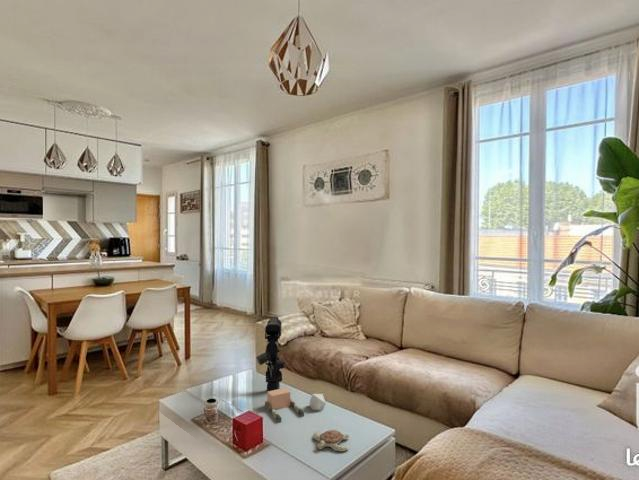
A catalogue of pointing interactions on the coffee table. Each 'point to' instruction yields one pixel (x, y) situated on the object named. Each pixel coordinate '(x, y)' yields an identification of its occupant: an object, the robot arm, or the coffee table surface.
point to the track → (277, 413)
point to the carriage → (278, 398)
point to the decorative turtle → (331, 440)
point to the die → (317, 402)
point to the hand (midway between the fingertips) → (272, 377)
